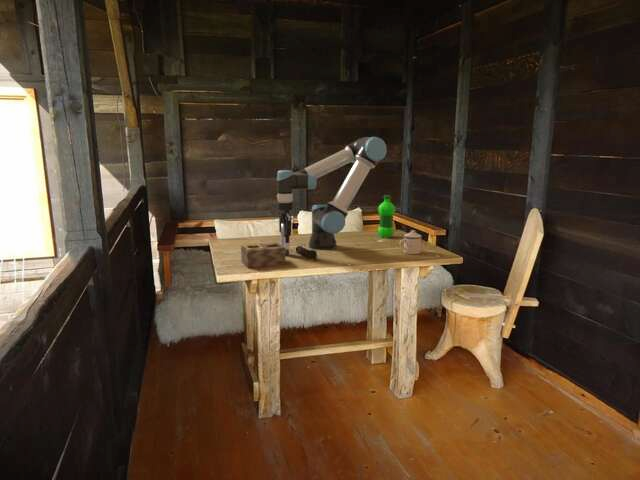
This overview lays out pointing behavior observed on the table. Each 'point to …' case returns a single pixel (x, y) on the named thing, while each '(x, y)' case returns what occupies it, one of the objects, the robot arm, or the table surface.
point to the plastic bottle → (386, 217)
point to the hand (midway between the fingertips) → (285, 247)
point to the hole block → (262, 255)
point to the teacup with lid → (411, 243)
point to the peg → (283, 239)
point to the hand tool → (307, 252)
